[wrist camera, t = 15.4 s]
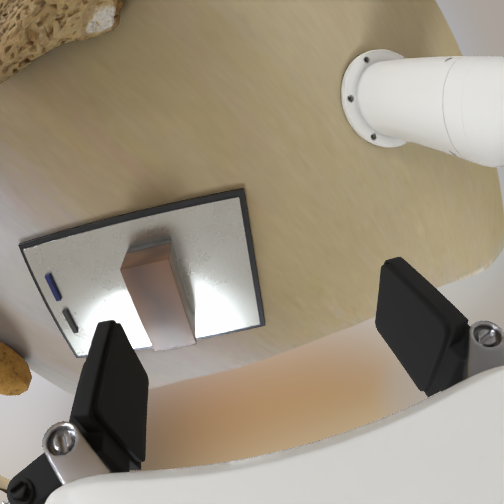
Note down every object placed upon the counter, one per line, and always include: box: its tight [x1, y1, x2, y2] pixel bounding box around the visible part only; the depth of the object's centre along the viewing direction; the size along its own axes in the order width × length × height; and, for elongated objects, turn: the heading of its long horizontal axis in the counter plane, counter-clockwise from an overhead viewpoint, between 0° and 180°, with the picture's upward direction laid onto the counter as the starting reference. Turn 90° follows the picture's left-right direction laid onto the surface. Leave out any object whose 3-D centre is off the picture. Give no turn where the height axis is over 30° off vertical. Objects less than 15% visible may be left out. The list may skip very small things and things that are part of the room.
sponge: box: [0, 0, 122, 83], centre depth 19 cm, size 13×8×20 cm
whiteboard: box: [18, 188, 265, 358], centre depth 38 cm, size 30×20×1 cm, turn 98°
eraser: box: [120, 239, 196, 351], centre depth 36 cm, size 6×12×5 cm, turn 8°
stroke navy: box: [45, 274, 62, 301], centre depth 35 cm, size 1×4×1 cm, turn 9°
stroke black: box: [62, 309, 78, 333], centre depth 38 cm, size 1×4×1 cm, turn 8°
